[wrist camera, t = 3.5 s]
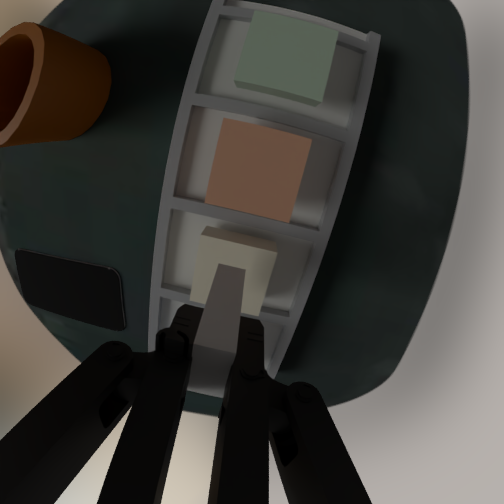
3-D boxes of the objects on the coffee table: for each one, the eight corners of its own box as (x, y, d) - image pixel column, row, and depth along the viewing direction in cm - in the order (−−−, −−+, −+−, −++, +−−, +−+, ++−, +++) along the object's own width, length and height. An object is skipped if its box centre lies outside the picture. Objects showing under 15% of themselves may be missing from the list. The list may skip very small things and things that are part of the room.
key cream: (206, 225, 19) (200, 234, 17) (276, 241, 19) (277, 252, 17) (195, 286, 20) (189, 300, 19) (258, 301, 21) (258, 316, 19)
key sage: (255, 23, 13) (254, 9, 11) (330, 42, 13) (338, 31, 11) (236, 87, 14) (233, 80, 13) (314, 107, 15) (322, 101, 13)
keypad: (218, 9, 15) (212, -7, 12) (369, 47, 16) (383, 36, 13) (154, 345, 26) (146, 363, 23) (269, 371, 27) (270, 392, 24)
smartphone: (125, 333, 25) (25, 303, 25) (127, 330, 26) (28, 300, 26) (118, 269, 23) (13, 247, 22) (121, 266, 23) (16, 245, 23)
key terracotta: (227, 120, 15) (223, 117, 13) (306, 140, 16) (312, 139, 14) (210, 196, 17) (204, 202, 15) (286, 214, 17) (289, 223, 15)
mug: (24, 72, 16) (-38, 64, 7) (117, 37, 16) (57, -1, 7) (18, 154, 19) (-48, 167, 10) (109, 134, 19) (35, 134, 10)
